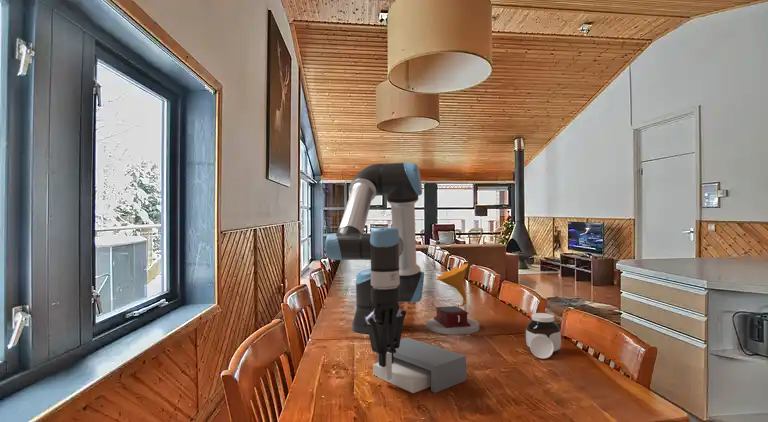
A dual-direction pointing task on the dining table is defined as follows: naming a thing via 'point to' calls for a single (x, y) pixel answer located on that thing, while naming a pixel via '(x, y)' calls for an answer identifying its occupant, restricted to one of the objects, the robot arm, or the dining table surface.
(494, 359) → the dining table surface
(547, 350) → the spread jar
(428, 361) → the low overhang
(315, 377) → the dining table surface
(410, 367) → the pale grey flat slab
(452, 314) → the gramophone
